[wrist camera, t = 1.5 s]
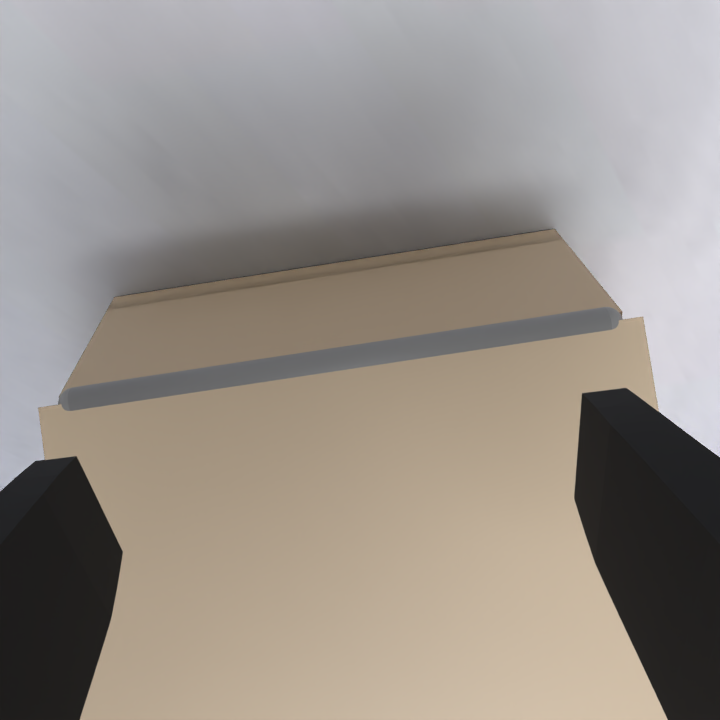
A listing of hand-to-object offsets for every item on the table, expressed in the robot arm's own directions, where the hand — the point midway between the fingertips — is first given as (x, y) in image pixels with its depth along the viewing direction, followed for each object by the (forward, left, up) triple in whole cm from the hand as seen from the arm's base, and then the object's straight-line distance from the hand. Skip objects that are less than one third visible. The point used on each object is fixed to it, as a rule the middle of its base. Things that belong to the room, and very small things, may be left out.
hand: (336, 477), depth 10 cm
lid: (0, -6, -2) cm, 7 cm away
